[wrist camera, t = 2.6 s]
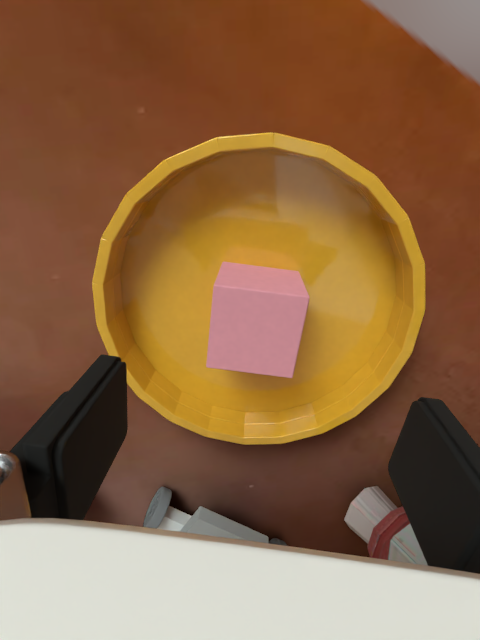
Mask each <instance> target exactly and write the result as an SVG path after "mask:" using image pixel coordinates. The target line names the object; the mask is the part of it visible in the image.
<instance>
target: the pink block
mask: <svg viewBox="0 0 480 640" xmlns="http://www.w3.org/2000/svg"><path fill="white" fill-rule="evenodd" d="M309 299H310V297H309V295H308V292H307V290H306V288H305V285H304V283H303V280H302V278H301V275H300V273H299V271H293V270H285V269H277V268H269V267H261V266H254V265H246V264H238V263H230V262H222V265H221V267H220V270H219V273H218V275H217V278H216V280H215V283H214V286H213V296H212V307H211V318H210V329H209V340H208V351H207V362H206V367H207V368H215V369H223V370H231V371H239V372H247V373H254V374H262V375H270V376H278V377H286V378H292V377H293V374H294V369H295V364H296V360H297V355H298V350H299V346H300V341H301V336H302V332H303V327H304V322H305V318H306V313H307V308H308V304H309Z"/></svg>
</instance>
